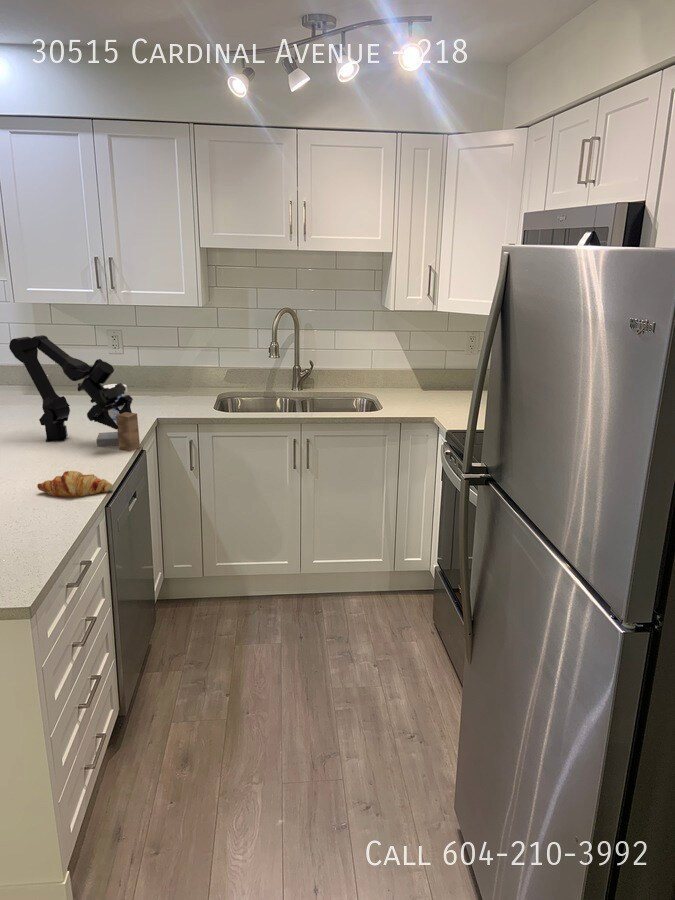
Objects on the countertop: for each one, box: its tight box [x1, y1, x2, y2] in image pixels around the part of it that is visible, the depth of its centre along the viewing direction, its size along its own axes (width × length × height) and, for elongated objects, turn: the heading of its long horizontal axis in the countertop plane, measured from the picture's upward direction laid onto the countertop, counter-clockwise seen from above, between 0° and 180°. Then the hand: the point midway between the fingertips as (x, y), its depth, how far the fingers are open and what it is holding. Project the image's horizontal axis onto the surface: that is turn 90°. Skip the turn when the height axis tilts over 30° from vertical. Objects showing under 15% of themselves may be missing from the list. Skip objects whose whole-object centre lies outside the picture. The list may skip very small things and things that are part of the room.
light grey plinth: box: [96, 431, 119, 447], centre depth 238 cm, size 9×9×2 cm
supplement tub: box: [102, 383, 129, 424], centre depth 264 cm, size 10×10×15 cm
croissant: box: [36, 470, 114, 498], centre depth 189 cm, size 21×10×8 cm, turn 97°
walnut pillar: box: [116, 412, 141, 452], centre depth 228 cm, size 5×5×12 cm
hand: (126, 425), depth 228 cm, fingers open, 9 cm apart
